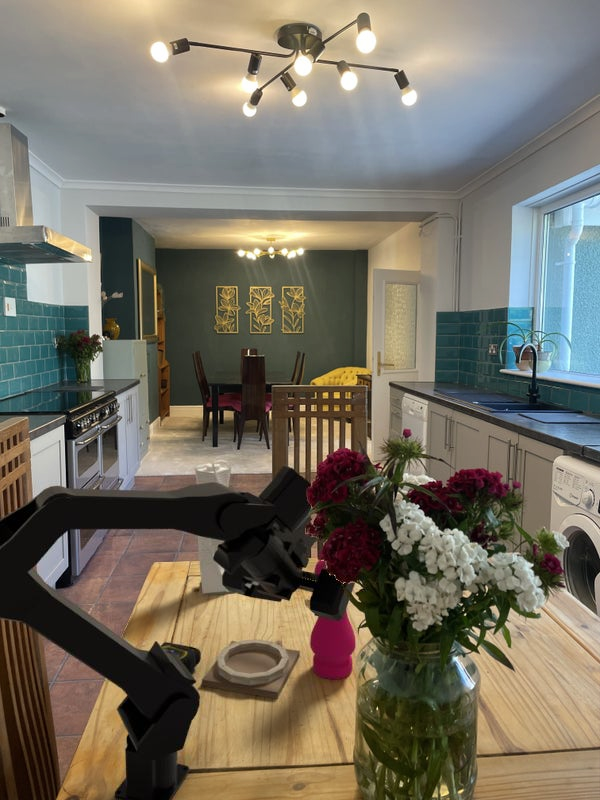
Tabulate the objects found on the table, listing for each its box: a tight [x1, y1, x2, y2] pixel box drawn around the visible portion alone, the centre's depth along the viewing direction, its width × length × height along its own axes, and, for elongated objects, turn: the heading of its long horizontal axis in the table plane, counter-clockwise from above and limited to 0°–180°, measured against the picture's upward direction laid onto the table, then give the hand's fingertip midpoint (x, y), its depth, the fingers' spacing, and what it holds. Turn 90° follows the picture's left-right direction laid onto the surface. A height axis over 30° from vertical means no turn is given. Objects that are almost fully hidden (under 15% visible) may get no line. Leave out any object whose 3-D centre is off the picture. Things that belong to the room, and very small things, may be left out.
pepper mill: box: [309, 559, 357, 680], centre depth 93 cm, size 7×7×20 cm
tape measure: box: [160, 641, 202, 674], centre depth 93 cm, size 7×7×4 cm
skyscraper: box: [194, 459, 236, 597], centre depth 123 cm, size 8×8×28 cm
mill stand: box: [201, 638, 301, 700], centre depth 94 cm, size 12×12×2 cm
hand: (307, 605), depth 86 cm, fingers open, 9 cm apart
